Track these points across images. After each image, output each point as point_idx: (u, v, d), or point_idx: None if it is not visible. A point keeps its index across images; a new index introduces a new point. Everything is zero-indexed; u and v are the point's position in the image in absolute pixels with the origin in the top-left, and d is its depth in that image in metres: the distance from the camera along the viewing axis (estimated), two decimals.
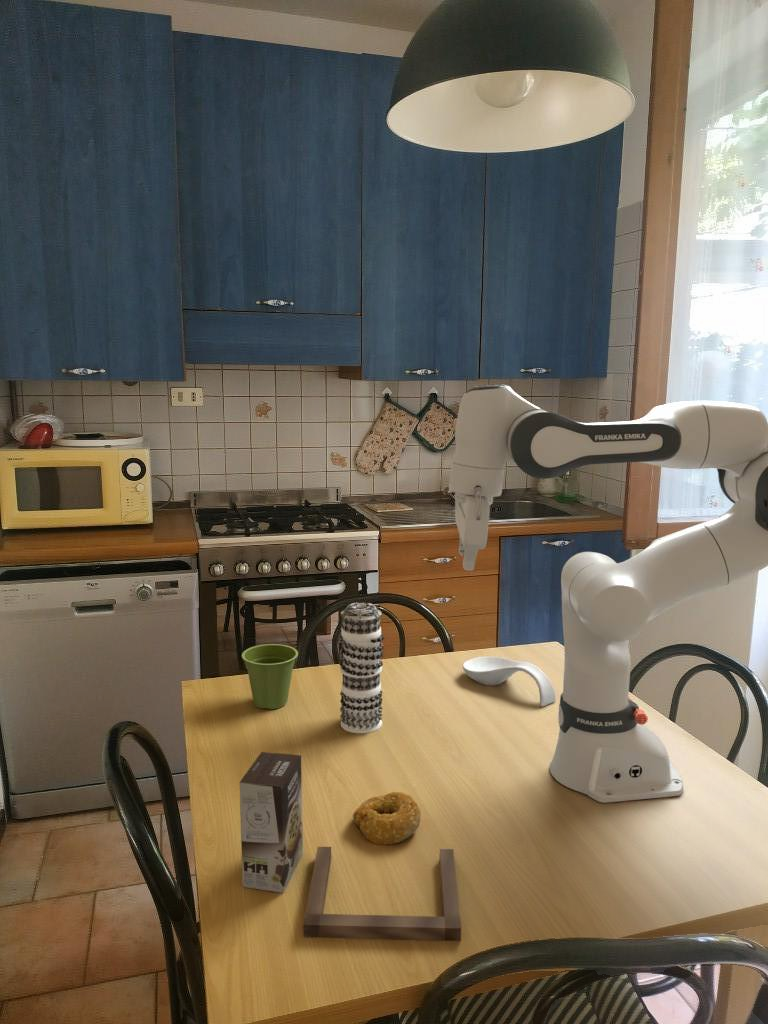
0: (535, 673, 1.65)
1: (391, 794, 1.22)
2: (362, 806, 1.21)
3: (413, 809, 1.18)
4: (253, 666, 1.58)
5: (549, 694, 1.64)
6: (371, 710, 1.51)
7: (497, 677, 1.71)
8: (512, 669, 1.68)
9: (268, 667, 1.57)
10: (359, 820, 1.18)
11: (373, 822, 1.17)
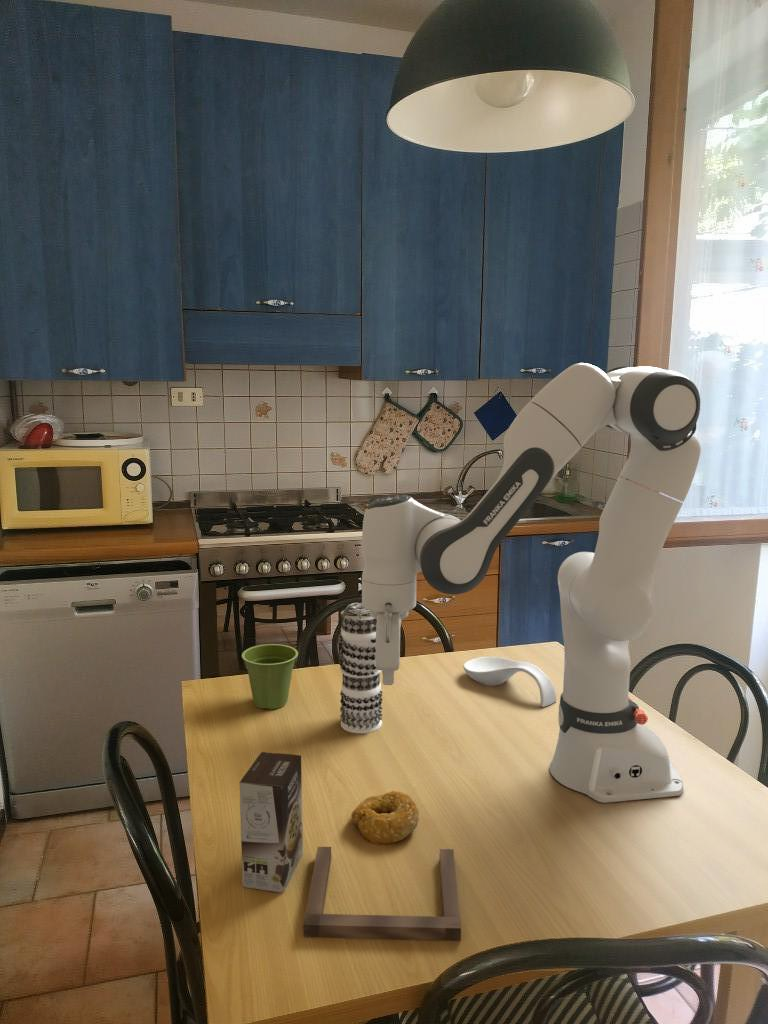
0: (536, 673, 1.65)
1: (389, 794, 1.23)
2: (360, 806, 1.21)
3: (411, 808, 1.19)
4: (253, 666, 1.58)
5: (550, 694, 1.64)
6: (371, 710, 1.51)
7: (498, 678, 1.71)
8: (513, 669, 1.68)
9: (268, 667, 1.57)
10: (357, 820, 1.18)
11: (371, 821, 1.17)
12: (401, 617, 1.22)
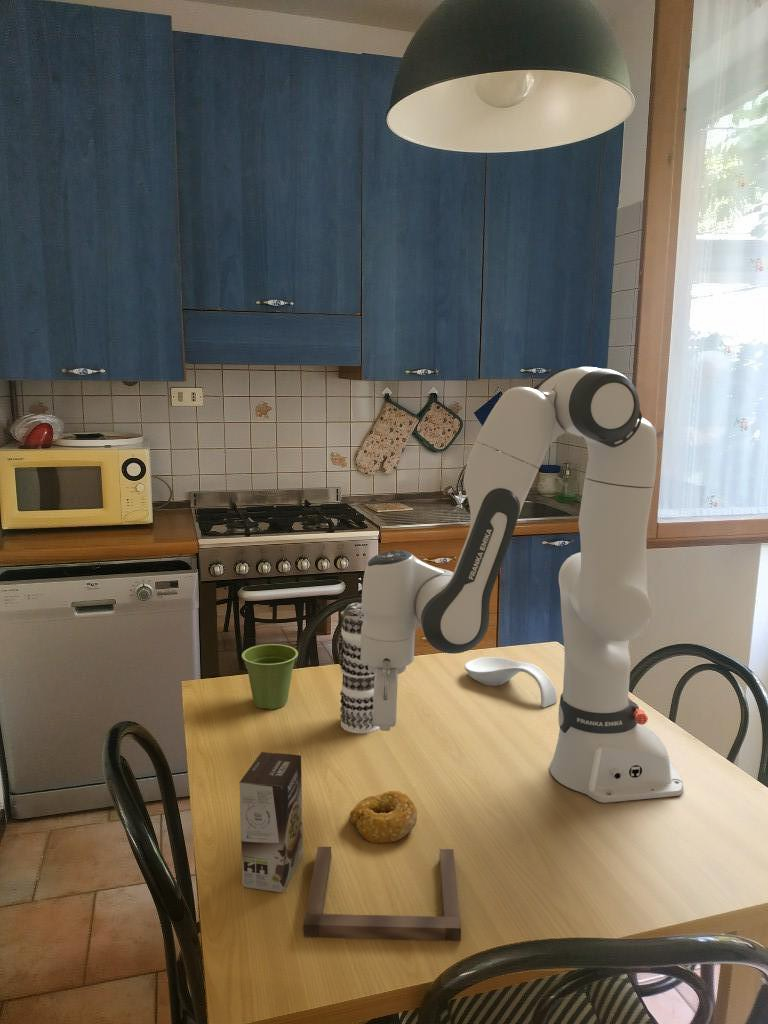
0: (536, 674, 1.65)
1: (387, 793, 1.23)
2: (359, 805, 1.21)
3: (409, 808, 1.19)
4: (253, 666, 1.58)
5: (550, 695, 1.63)
6: (371, 710, 1.51)
7: (499, 678, 1.71)
8: (514, 670, 1.68)
9: (268, 667, 1.57)
10: (356, 819, 1.19)
11: (369, 821, 1.17)
12: (399, 672, 1.24)
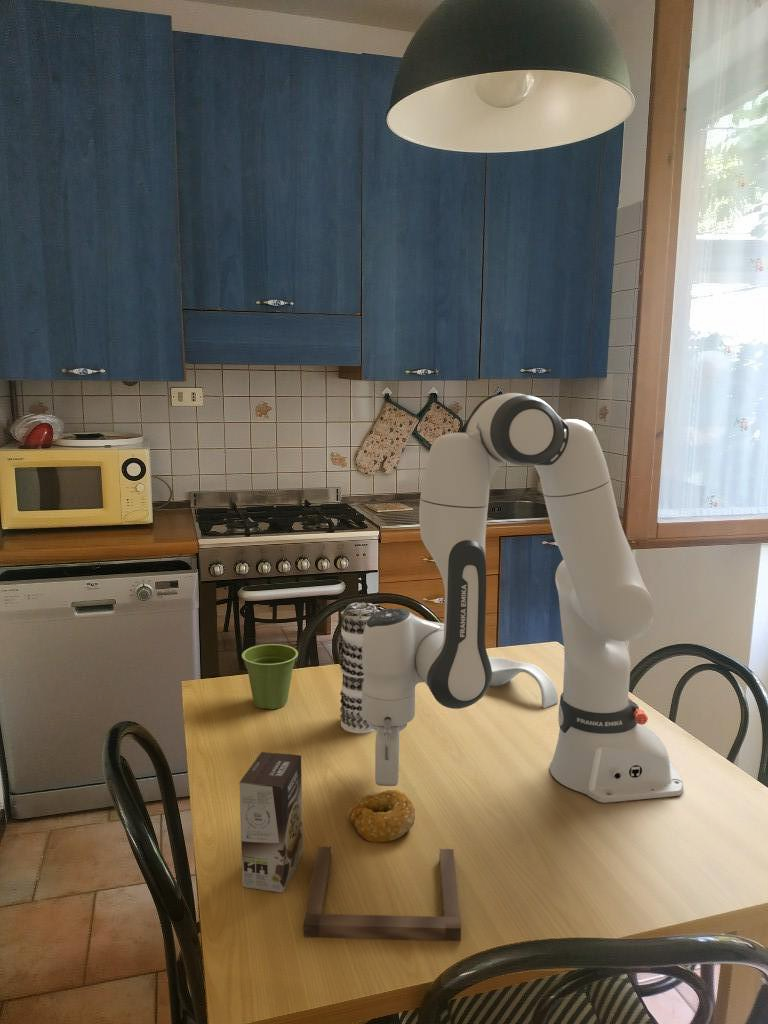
0: (537, 674, 1.65)
1: (386, 792, 1.23)
2: (357, 804, 1.21)
3: (408, 807, 1.19)
4: (253, 666, 1.58)
5: (551, 696, 1.63)
6: None
7: (500, 678, 1.71)
8: (514, 670, 1.67)
9: (268, 667, 1.57)
10: (354, 818, 1.19)
11: (368, 820, 1.17)
12: (400, 729, 1.25)
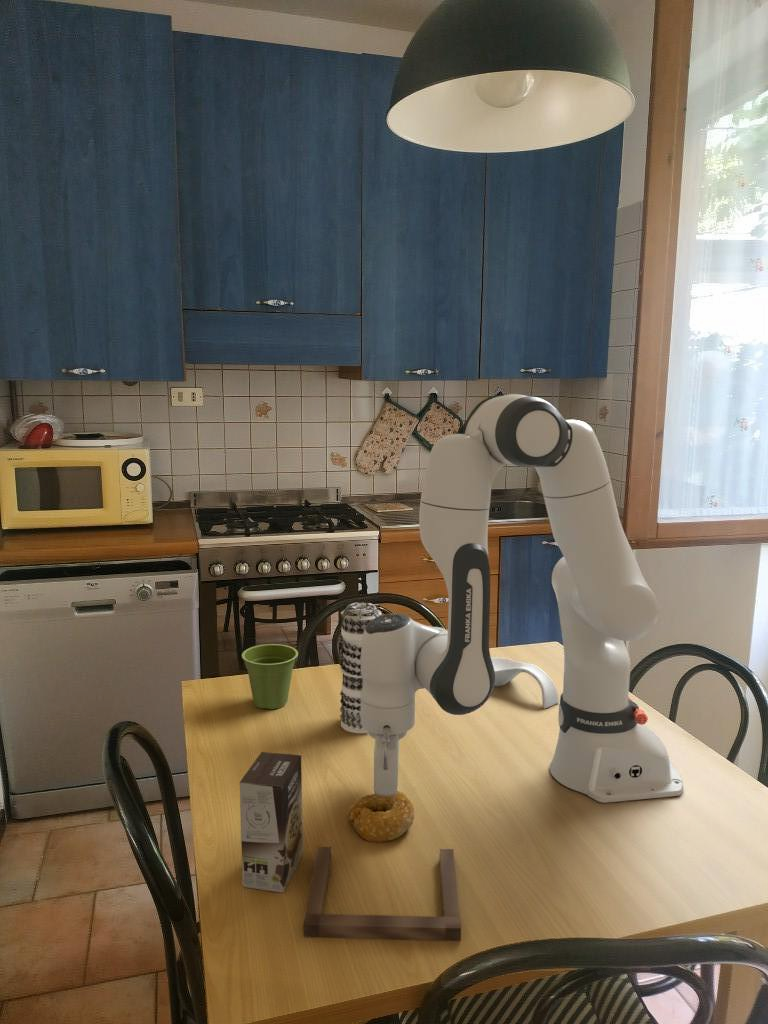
0: (538, 675, 1.64)
1: None
2: (356, 804, 1.21)
3: (406, 807, 1.19)
4: (253, 666, 1.58)
5: (552, 696, 1.63)
6: None
7: (501, 679, 1.70)
8: (515, 670, 1.67)
9: (268, 667, 1.57)
10: (353, 818, 1.19)
11: (367, 820, 1.17)
12: (399, 737, 1.22)
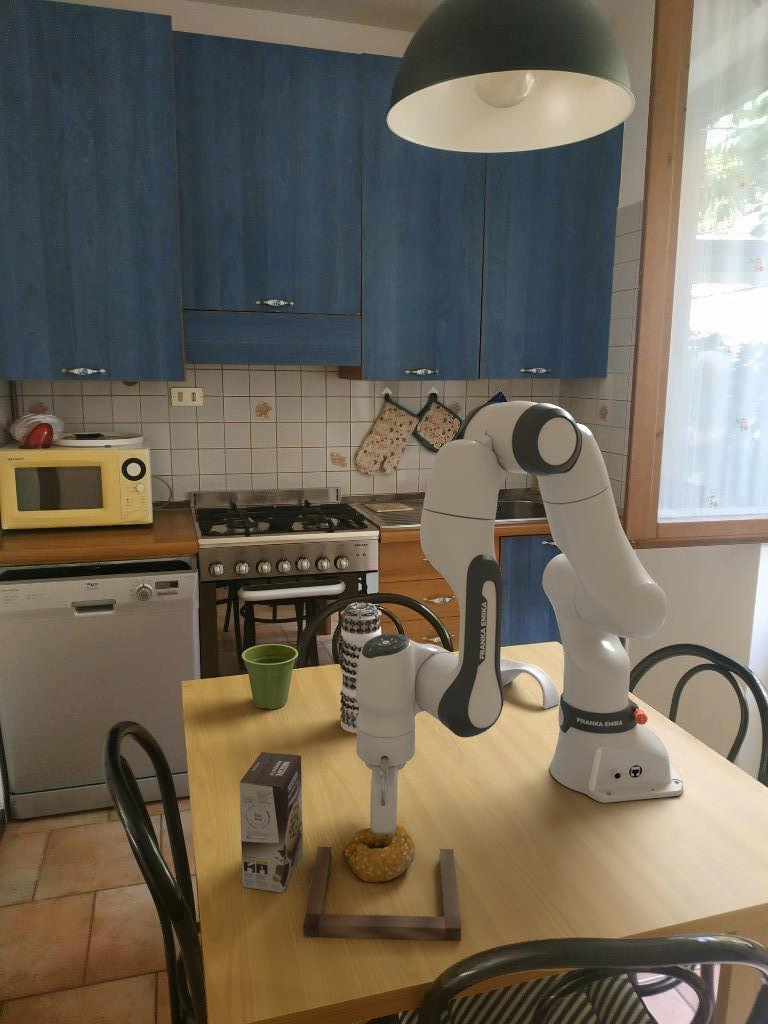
0: (539, 675, 1.64)
1: None
2: (351, 839, 1.12)
3: (406, 843, 1.10)
4: (253, 666, 1.58)
5: (552, 696, 1.63)
6: None
7: (502, 679, 1.70)
8: (516, 671, 1.67)
9: (268, 667, 1.57)
10: (348, 855, 1.09)
11: (363, 858, 1.08)
12: (398, 768, 1.13)
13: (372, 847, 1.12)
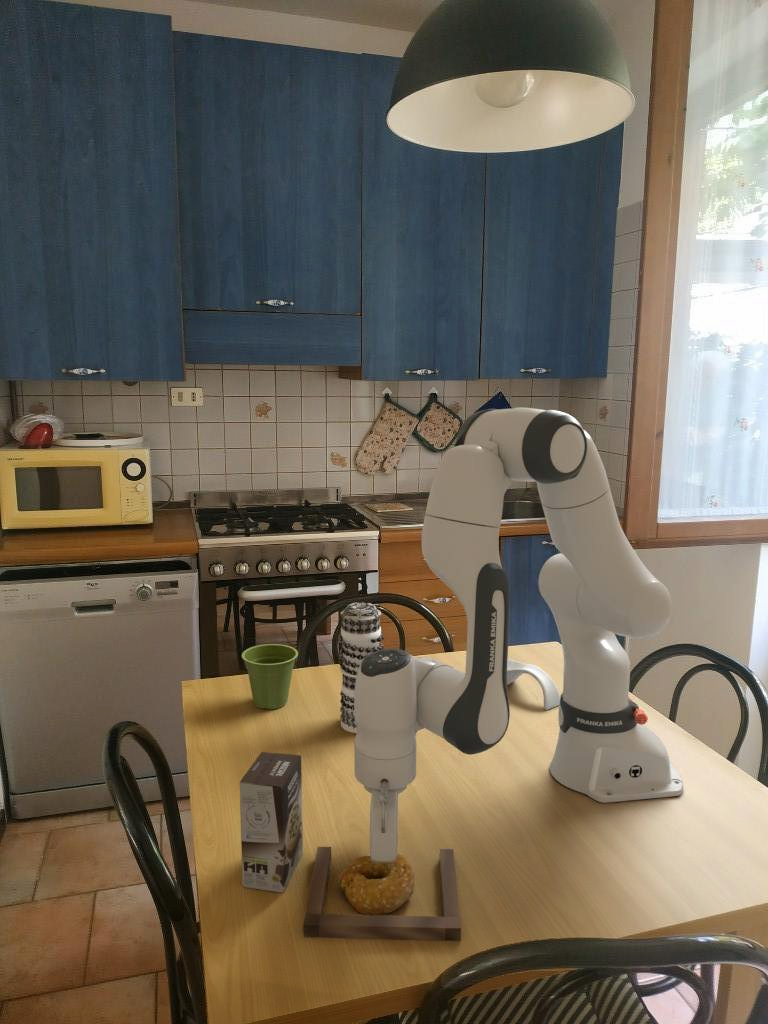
0: (540, 676, 1.64)
1: None
2: (348, 868, 1.06)
3: (406, 873, 1.03)
4: (253, 666, 1.58)
5: (553, 697, 1.62)
6: None
7: None
8: (517, 671, 1.67)
9: (268, 667, 1.57)
10: (344, 886, 1.03)
11: (360, 889, 1.02)
12: (399, 791, 1.07)
13: (370, 877, 1.06)
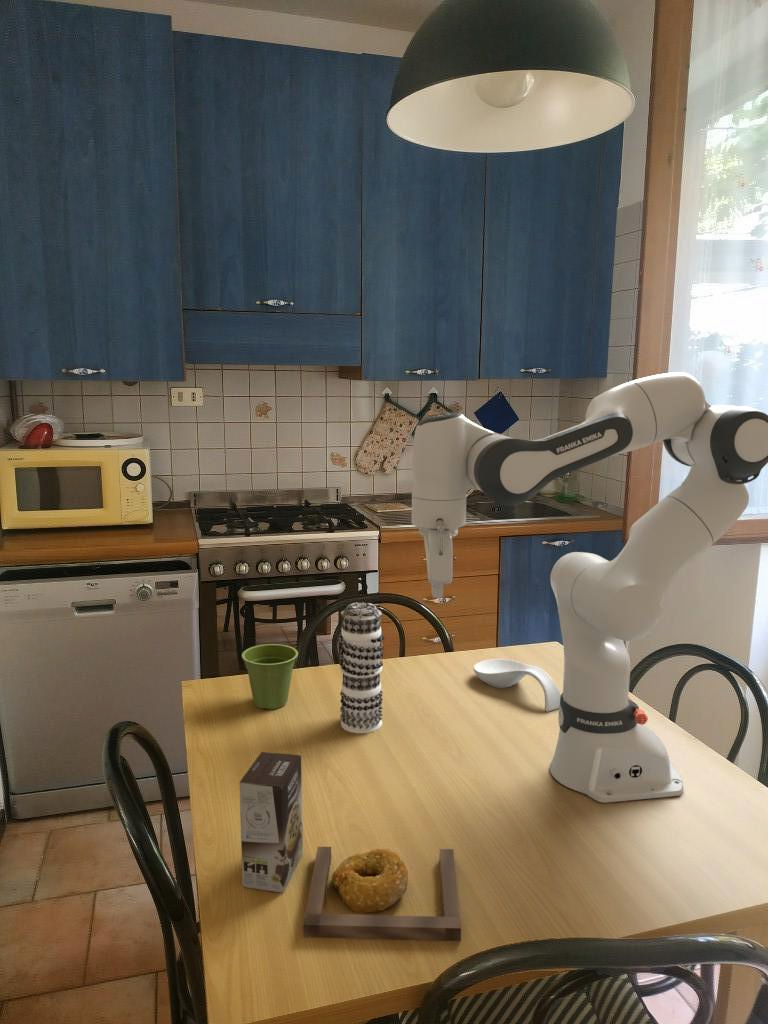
0: (542, 677, 1.63)
1: (375, 852, 1.08)
2: (342, 866, 1.06)
3: (399, 871, 1.04)
4: (253, 666, 1.58)
5: (555, 699, 1.61)
6: (371, 710, 1.51)
7: (506, 680, 1.70)
8: (519, 672, 1.66)
9: (268, 667, 1.57)
10: (338, 884, 1.04)
11: (353, 887, 1.02)
12: (451, 534, 1.22)
13: (364, 874, 1.06)
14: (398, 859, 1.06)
